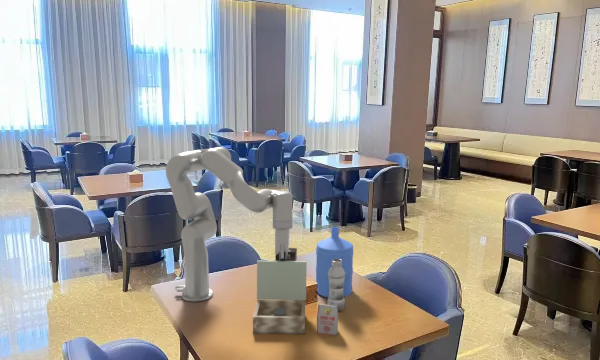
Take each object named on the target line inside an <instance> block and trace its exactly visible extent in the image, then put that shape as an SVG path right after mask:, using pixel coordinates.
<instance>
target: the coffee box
mask: <svg viewBox="0 0 600 360" xmlns="http://www.w3.org/2000/svg"><path fill="white" fill-rule="evenodd" d="M274 255H275V254H274ZM297 256H298V249H297V247H289V249H288V254H287V261H298V259H297V258H298V257H297ZM274 261H279V253H278V254H277V255H275V258H274Z"/></svg>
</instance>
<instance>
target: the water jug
mask: <svg viewBox="0 0 600 360" xmlns="http://www.w3.org/2000/svg"><path fill="white" fill-rule="evenodd" d="M339 230H340V227H337V226H334V227H333V226H332V227H331V235H330V236H329V237H328V238H325V239H322V240H320V241H318V242H317V243H316V248H315V254H316V259H315V260H316V261H315V262H316V264H315V265H316V266H315V273H316V274H315V283H316V282H317V283H318V293H317V294H318V295H320V296H321V297H323V298H327V299H328V297H329V278H328V271H329V269H330V268H331V267H332V260H333V259H341V260H342V266H341V267H342V268H343V270H344V272H345V278H344V286H343V294H344V298H346V297H348V296H350V295H351V294H352V293H353V273H354V268H353V267H354V266H353V263H354V262H353V259H354V245H353V243H351V242H350V241H348V240H346V239H343V238H341V237H340V236H339V234H340V232H339Z"/></svg>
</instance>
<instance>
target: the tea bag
mask: <svg viewBox="0 0 600 360" xmlns="http://www.w3.org/2000/svg"><path fill="white" fill-rule="evenodd" d="M316 313H317V315H316V334H319V335H321V334H322V335H328V336H335V337H336V336H337V333H338V331H339V311H338V310H337V306H330V305H328V304H321V303H318V304H317V311H316Z"/></svg>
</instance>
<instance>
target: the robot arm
mask: <svg viewBox="0 0 600 360" xmlns="http://www.w3.org/2000/svg"><path fill="white" fill-rule="evenodd" d="M203 170H207V171H208V172H210V173H211V174H212V175H213V176H215V177H216V178H217V179H219V181H221V182H222V183H224V184H225V185H226V186H227V187H228V188H229V190H230V192H231V194H232V196H233V198H235V199H236V201H238V202H239V203H240V204H241V205H242V206H243V207H244V208H246V209H248V210H249V211H251V212H253V213H256V214H259V213H263V212H264V211H265V212H266V210H268V209H272V229H273V230H275V233H274V235H275V236H274V245H275V246H274V255H277V254H278V253H279V261H287V254H288V249H289V248H290V230H291V229H293V194H292V192H291V191H288V190H275V189H269V188H263V189H261V190H258V191H256V190H255V189H254V188H252V186H250V185H249V184H248V183H247V182H246V181H245V179H244V175H243V174H244V170H243V169H242V167H240V166H239V165H237V164H236V163H235V162H234V161H232V154H231V152H230V151H229V150H228V149H227V148H226V147H223V146H216V147H212V148H204V149H195V150H189V151H183V152H180V153H177V154H174V155H173V156H172V157H170V159H169V160H168V162H167V163H166V167H165V175H166V179H167V181H168V182H167V183H168V184H169V187H170V190H171V194H172V196H173V200H174V203H175V207H176V210H177V214H178V215H179V217H180V218H181V219H183V220H184V221H185V220H193V221H191V222H189V223H187V224H186V225H185V226H184V227H183V228H182V230H181V233H180V237H181V243H182V247H183V260H184V279H185V280H184V281H185V282H184V284H183V285H179V284H178V285H177V284H176V285H175V291H176V292H177V293H181V292H182V293H181V298H182V299H183V301H186V302H190V301H191V303H194V302H196V303H197V302H198V301H199V302H203V301H207V300H209V299H211V298H212V297H213V295H214V291H213V290H212V289H211V288H210V283H209V282H210V280H209V279H210V278H209V277H210V276H209V273H210V271H209V252H208V249H207V246H206V242H207V241H208V240H209V239H211V238H213V237H214V236H216V234H217V232H218V231H217V230H218V225H217V222H216V216H215V213H214V210H213V206H212V204H211V201H210V199H209V198H208V196H207V195H206V194H204V193H203V192H195V190H194V185H193V183H192V181H191V179H190V178H189V176H188V174H189V173H191V174H192V173H193V172H194V173H195V172H197V171H203ZM199 302H198V303H199Z"/></svg>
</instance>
